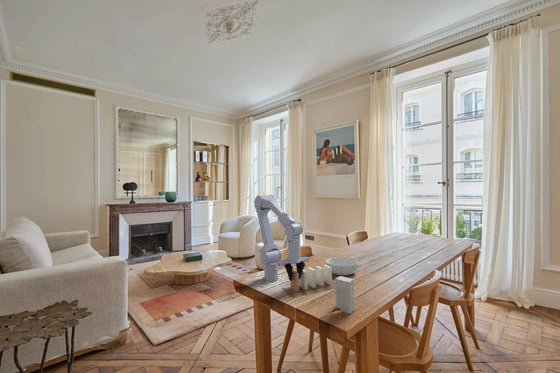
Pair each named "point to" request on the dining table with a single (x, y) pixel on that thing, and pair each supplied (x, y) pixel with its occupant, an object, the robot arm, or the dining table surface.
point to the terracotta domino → (295, 281)
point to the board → (309, 290)
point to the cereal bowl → (342, 265)
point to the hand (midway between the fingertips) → (294, 279)
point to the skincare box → (345, 294)
